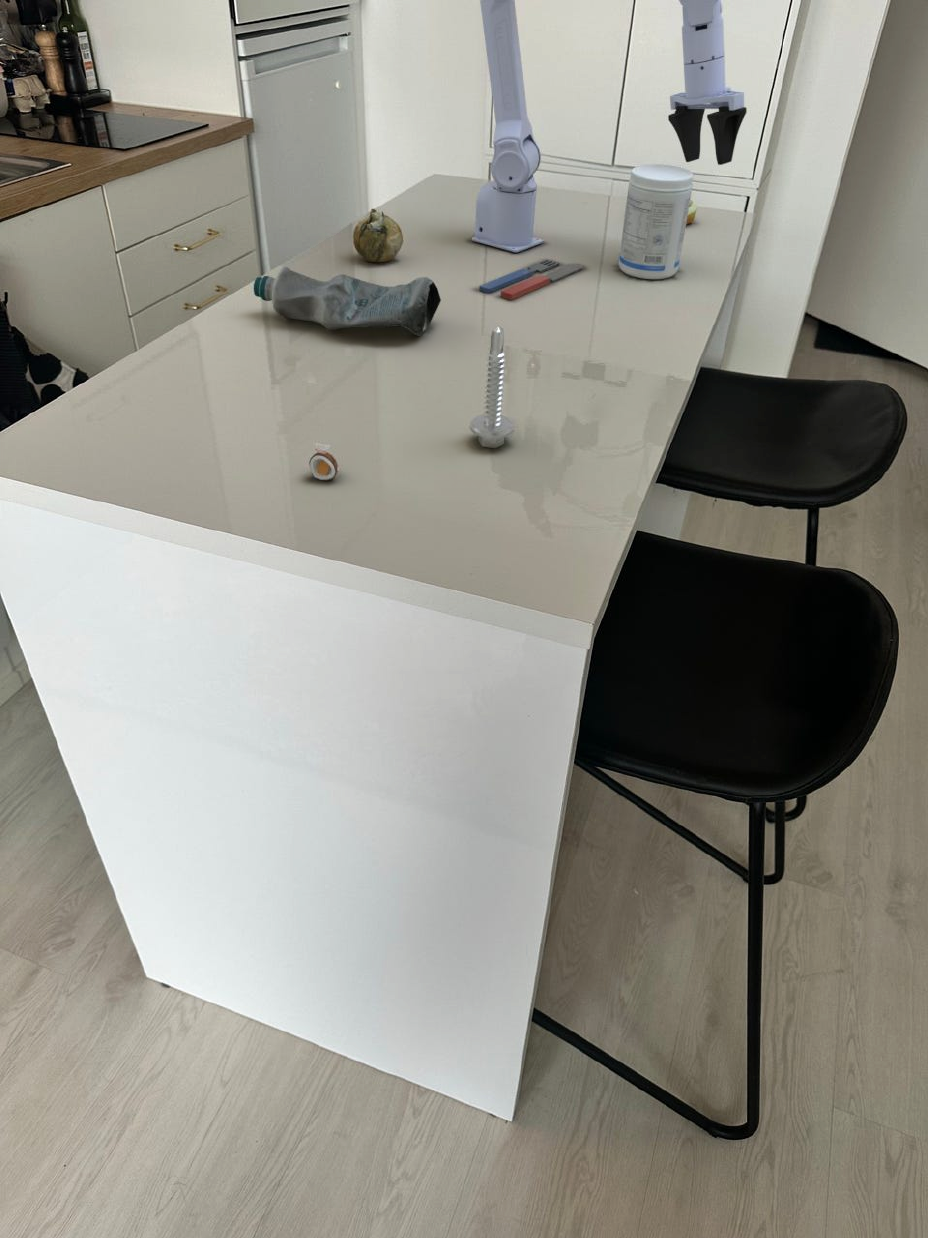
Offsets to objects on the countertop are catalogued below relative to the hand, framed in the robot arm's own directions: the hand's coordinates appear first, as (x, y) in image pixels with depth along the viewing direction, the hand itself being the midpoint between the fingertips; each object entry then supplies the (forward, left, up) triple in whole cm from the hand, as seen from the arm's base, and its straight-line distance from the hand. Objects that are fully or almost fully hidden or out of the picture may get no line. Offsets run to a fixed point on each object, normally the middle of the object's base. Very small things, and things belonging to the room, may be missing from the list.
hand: (708, 161), depth 140 cm
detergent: (-23, -57, -16) cm, 63 cm away
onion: (-38, -34, -16) cm, 53 cm away
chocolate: (+4, -88, -16) cm, 89 cm away
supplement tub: (-4, -8, -16) cm, 18 cm away
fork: (-17, -25, -15) cm, 33 cm away
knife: (-13, -24, -15) cm, 31 cm away
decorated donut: (-16, +20, -16) cm, 30 cm away
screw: (+12, -71, -16) cm, 73 cm away
